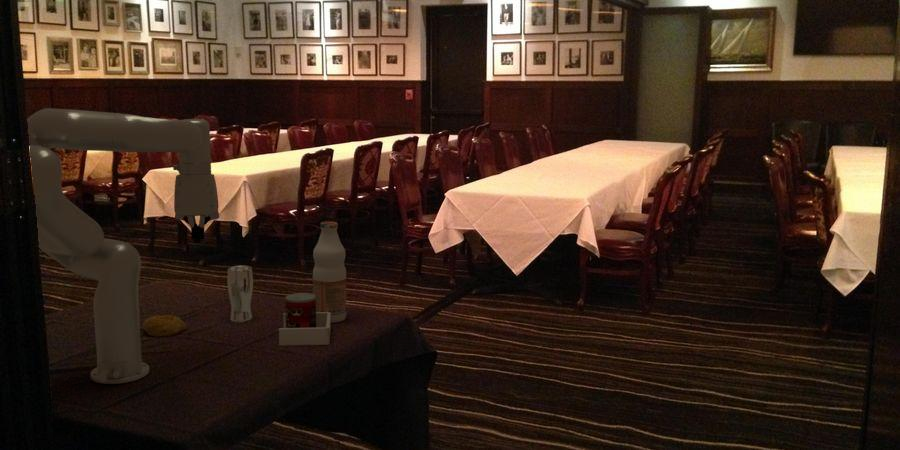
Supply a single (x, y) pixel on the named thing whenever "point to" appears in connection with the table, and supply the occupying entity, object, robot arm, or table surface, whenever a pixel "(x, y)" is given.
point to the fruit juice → (330, 273)
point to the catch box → (307, 332)
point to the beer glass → (240, 292)
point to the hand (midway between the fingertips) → (198, 241)
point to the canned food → (300, 310)
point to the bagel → (163, 325)
